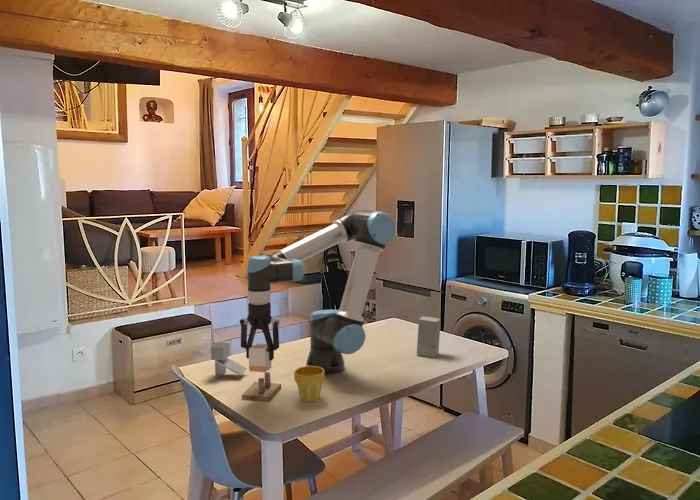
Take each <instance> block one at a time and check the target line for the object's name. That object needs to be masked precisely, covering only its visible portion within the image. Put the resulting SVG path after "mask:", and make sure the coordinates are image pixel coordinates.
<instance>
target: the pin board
mask: <svg viewBox="0 0 700 500" xmlns="http://www.w3.org/2000/svg"><path fill="white" fill-rule="evenodd" d="M281 389H282V384H281V383H276V382H275V383H273V382H271V372H270V371H266V372H264V377H260V378H258V381H254V382H253V383H252V384H250V386H249V387H248V388H247V389H246V390H245V391H244V392H243V393H242V394H241V399H242V400H249V401H250V400H252V401H259V402H260V401H264V402H271V401H272V399H273V398H274V397H275V396H276V395H277V394H278V392H279V391H280V390H281Z"/></svg>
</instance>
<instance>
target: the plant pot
mask: <svg viewBox="0 0 700 500" xmlns="http://www.w3.org/2000/svg"><path fill="white" fill-rule="evenodd" d="M325 375H326V374H325V371H324V369H323V368H321V367H317V366H300V367H298V368H296V369H295V370H294V375H293V376H294V382H295V383H296V385H297V389H298V393H299V397H300V400H301V401H304V402H306V403H307V402H315V401H318V400H319V399H320V397H321V392H322V388H323V383H324V381H325V378H326V377H325Z"/></svg>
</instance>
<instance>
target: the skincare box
mask: <svg viewBox="0 0 700 500" xmlns="http://www.w3.org/2000/svg"><path fill="white" fill-rule="evenodd" d="M441 320H442V319H441V318H437V317H432V316H421V317H419V319H418V328H417V329H418V330H417V342H416V343H417V344H416V356H419V357H426V358H433V359H435V358H436V357H437V356H438V355H439V350H440V336H441V335H440V334H441V332H440V331H441Z"/></svg>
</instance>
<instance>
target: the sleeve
mask: <svg viewBox="0 0 700 500" xmlns="http://www.w3.org/2000/svg"><path fill="white" fill-rule="evenodd" d="M267 351H268V347H267V343H254V344H252V346H251V347H250V348H249V359H248V368H249V367H250V369H249V372H255V373H257V372H258V373H265V372H268V370H267V358H266V352H267Z"/></svg>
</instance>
